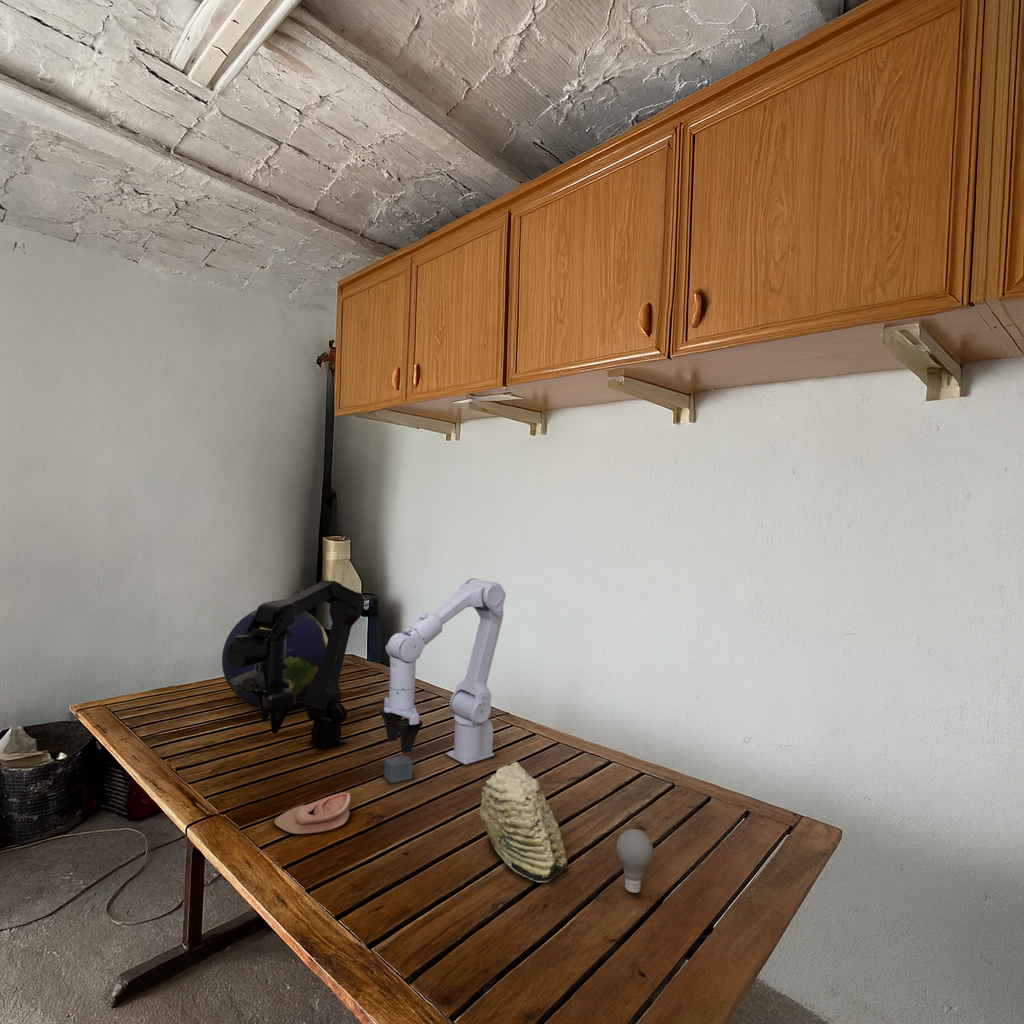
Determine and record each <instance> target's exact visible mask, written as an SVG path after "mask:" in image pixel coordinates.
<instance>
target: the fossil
mask: <svg viewBox="0 0 1024 1024" xmlns="http://www.w3.org/2000/svg"><path fill="white" fill-rule="evenodd" d="M479 819H480V820H481V822H482V823H483V827H484V829H485V832H486V833H487V836H488V838H489V840H490V842H491V844H492V845H493V848H494V850H495V852H496V853H497V854H498V856H500V858H501V859H502V861H503V862H504V863H505V864H506V865H507V867H509V868H510V869H511V870H513V871H514V873H517V874H519V875H520V876H522V877H525V878H527V879H528V880H531V881H533V882H536V883H548V882H550V881H552V880H553V879H554V878H555V877H556V876H557V875H560V874H561V873H563V872H564V871H565V870H566V868H567V867H568V866H569V863H568V859H567V856H566V848H565V847H564V841H563V838H562V834H561V831H560V826H559V824H558V822H557V821H556V818H555V817H554V813H553V811H552V810H551V807H550V805H549V803H548V802H547V799H546V796H545V794H544V790H543V789H542V786H541V784H540V781H539V780H537V779H535V778H533V777H532V776H531V775H529V773H528V772H527V771H526V769H524V768H523V766H521V764H520V763H519V762H518V761H513V762H512V763H511V764H509V765H507V764H506V765H504V766H502V767H500V768H498V769H497V770H496V772H495V773H494V774H492V775H491V776H490V778H489V779H487V780H486V782H485V786H483V788H482V792H481V802H480V808H479Z"/></svg>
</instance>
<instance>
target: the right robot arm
mask: <svg viewBox="0 0 1024 1024" xmlns="http://www.w3.org/2000/svg"><path fill="white" fill-rule="evenodd" d="M506 596H507V593H506V592H505V590H504V588H503V586H502V585H501V583H499V582H496V581H487V580H481V579H478V578H476V577H471V578H469V579H468V578H467V580H466V581H465V582H464V583H462V584H460V585H459V588H458V590H457V591H456V592H455V593H454V594H453V595H452V596H451V597H450V598H449V599H448V600H447V601H445V602H444V603H443V604H442V605H441V606H440V607H439V608H438V609H437V610H435V612H434V613H431V612H426V613H421V614H420V615H419V616H418V619H417V620H416V621H414V622H413V623H412V624H411V625H410V626H409V627H408V626H406V627H405V628H404V629H403V632H397V633H394V634H393V635H392V636H391V637H390V638H389V640H388V642H387V644H386V645H385V651H386V654H387V655H388V656H389V663H390V664H389V687H388V689H389V690H388V696H387V697H384V707H383V709H380V710H379V713H380V715H381V718H382V721H383V724H384V726H385V732H386V737H387V738H386V739H387V742H394V741H398V739H399V738H400V749H401V753H402V754H407V753H412V752H413V748H414V744H415V742H416V738H417V735H418V733H419V732H420V730H421V728H422V726H423V725H424V724H423V723H424V721H422V720H421V719H420V714H419V713H418V712H417V707H416V705H415V694H416V670H417V660H418V659H420V657H421V655H422V653H423V650H424V649H425V647H426V646H427V645H428V644H429V643H430V642H432V641H433V640H434V639H435V638H436V637H438V636H439V635H440V634H441V633H442V632H443V625H444V624H446V623H447V622H449V621H450V620H451V619H453V618H455V616H457V615H458V614H460V613H461V612H462V611H464V610H465V609H467V608H473V609H475V611H476V613H477V614H478V616H479V618H480V619H479V624H478V627H477V631H476V635H475V639H474V643H473V647H472V651H471V654H470V659H469V663H468V667H467V670H466V674H465V678H464V679H463V680H462V681H460V682H458V684H457V685H456V688H455V691H454V692H453V693H452V695H451V698H450V700H449V710H450V712H451V713H452V714H453V719H454V737H453V738H454V741H453V750H450V751H446V756H448V757H450V758H452V759H454V760H456V761H457V762H459V763H461V764H463V765H470V764H472V763H476V762H479V761H482V760H485V759H488V758H492V757H494V756H495V753H494V752H493V747H494V726H493V722H492V721H491V720H490V718H489V717H490V716H491V712H492V704H491V703H492V702H491V701H492V693H491V691H490V689H489V687H488V685H487V683H488V680H489V675H490V671H491V667H492V663H493V660H494V655H495V651H496V648H497V643H498V640H499V635H500V631H501V628H502V623H503V619H504V604H505V601H506ZM403 718H404V720H402V719H403Z"/></svg>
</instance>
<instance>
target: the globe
mask: <svg viewBox="0 0 1024 1024" xmlns="http://www.w3.org/2000/svg"><path fill="white" fill-rule="evenodd" d="M257 610H258V608H257V609H255V610H253V611H251V612H250V613H248V614H246V615H245V616H243V618H241V619H240V620H239V621H238V622H237V623H235V625H234V627H232V629H231V631H230V632H229V634H228V635H227V637H226V640H225V642H224V645H223V649H222V654H221V666H222V672H223V676H224V678H225V679H224V680H225V681H226V683H227V685H228V687H229V688H230V689H231V691H232V692H233V693H234V691H233V688H232V685H231V683H230V680H231V679H233V678H235V677H237V676H240V675H242V674H244V673H246V672H249V671H252V670H255V664H253V665H250V666H246V667H242V668H238V669H235V668H233V667H232V666H230V664H229V663H228V660H227V655H226V653H227V650H228V647H229V645H230V644H231V643H233V642H234V637H235V636H239V635H240V636H243V635H246V634H245V631H246V629H247V627H248V626H249V624H250V622H251V621H252V619H253V617H254V615H255V614H256V612H257ZM260 629H265V630H272V629H266V628H261V627H260ZM288 630H289V631H291V632H292V633H293V636H292V637H288V638H286V654H285V663H287V664H288V667H287V669H285V681H286V682H287V687H281V689H284V688H288V689H289V690H290V691H291V692H292V693H293V694H294V695H296V702H295V704H298V703H299V702H301V701H304V699H305V697H306V694H307V688H308V686H309V685H314V683H315V682H316V681H317V680H318V679H319V675H320V671H321V667H322V663H323V659H324V655H325V651H326V647H327V643H328V639H329V637H328V635H327V633H326V631H325V629H324V627H323V626H322V624H321V623H320V621H318V619H317V618H315V616H314V615H312V614H311V613H310V612H308V611H305V612H304V613H302V614H300V615H299V616H298V617H297V619H296V621H295V622H294V623H293V624H292V625H291V626H289V627H288ZM238 698H239V699H240V700H242V701H244V702H245V703H247V704H248V705H251V706H254V707H258V708H259V703H258V699H257V697H256V696H255V695H254V694H253V693H252V692H249V693H247V694H245V695H244V696H242V697H238Z"/></svg>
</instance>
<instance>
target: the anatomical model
mask: <svg viewBox="0 0 1024 1024" xmlns="http://www.w3.org/2000/svg"><path fill="white" fill-rule="evenodd" d="M350 803H351V794H350V792H347V791H346V792H339V793H336V794H332V795H329V796H326V797H323V798H321V799H318V800H316V801H313V802H311V803H308V804H303V805H299V806H295V807H293V808H291V809H289V810H287V811H285V812H283V813H282V814H280V815H279V816H277V817H276V818H275V819H274V825H275V826H276V827H278V828H280V829H281V830H283V831H285V832H287V833H289V834H293V835H300V834H301V835H305V834H313V833H322V832H326V831H331V830H334V829H336V828H339V827H341V826H343V825H344V824H345V823H347V821H348V820H349V817H350V809H349V808H348V807H349V806H350Z"/></svg>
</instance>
